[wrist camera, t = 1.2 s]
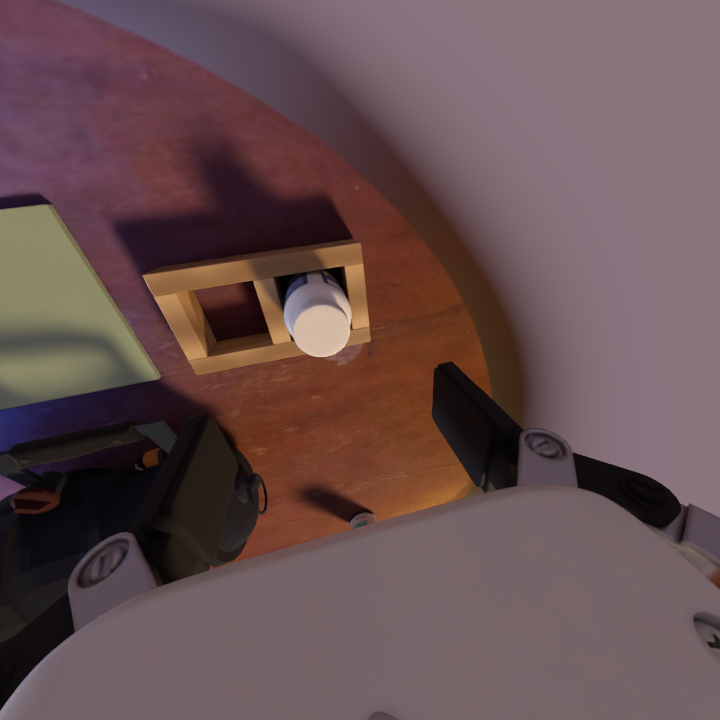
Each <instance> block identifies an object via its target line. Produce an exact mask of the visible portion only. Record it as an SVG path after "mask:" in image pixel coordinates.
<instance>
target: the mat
mask: <svg viewBox="0 0 720 720" xmlns="http://www.w3.org/2000/svg"><path fill="white" fill-rule="evenodd" d="M160 377H161V375H160V373H159V371H158V370H157V368H156V367H155V365H154V364H153V362H152V360H151V359H150V357H149V356H148V354H147V353H146V351H145V349H144V348H143V346H142V345H141V343H140V342H139V340H138V338H137V337H136V335H135V334H134V332H133V331H132V329H131V327H130V326H129V324H128V323H127V321H126V320H125V318H124V316H123V315H122V313H121V312H120V310H119V309H118V307H117V305H116V304H115V302H114V301H113V299H112V297H111V296H110V294H109V293H108V291H107V290H106V288H105V286H104V285H103V283H102V282H101V280H100V279H99V277H98V275H97V274H96V272H95V271H94V269H93V268H92V266H91V264H90V263H89V261H88V260H87V258H86V257H85V255H84V253H83V252H82V250H81V249H80V247H79V246H78V244H77V242H76V241H75V239H74V238H73V236H72V235H71V233H70V231H69V230H68V228H67V227H66V225H65V224H64V222H63V220H62V219H61V217H60V216H59V214H58V212H57V211H56V209H55V208H54V206H53V205H52V204H41V205H32V206H24V207H15V208H6V209H0V410H2V409H7V408H12V407H18V406H23V405H28V404H33V403H38V402H43V401H49V400H54V399H59V398H64V397H69V396H74V395H79V394H85V393H90V392H95V391H100V390H105V389H110V388H116V387H121V386H126V385H131V384H136V383H141V382H146V381H152V380H157V379H159V378H160Z"/></svg>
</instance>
